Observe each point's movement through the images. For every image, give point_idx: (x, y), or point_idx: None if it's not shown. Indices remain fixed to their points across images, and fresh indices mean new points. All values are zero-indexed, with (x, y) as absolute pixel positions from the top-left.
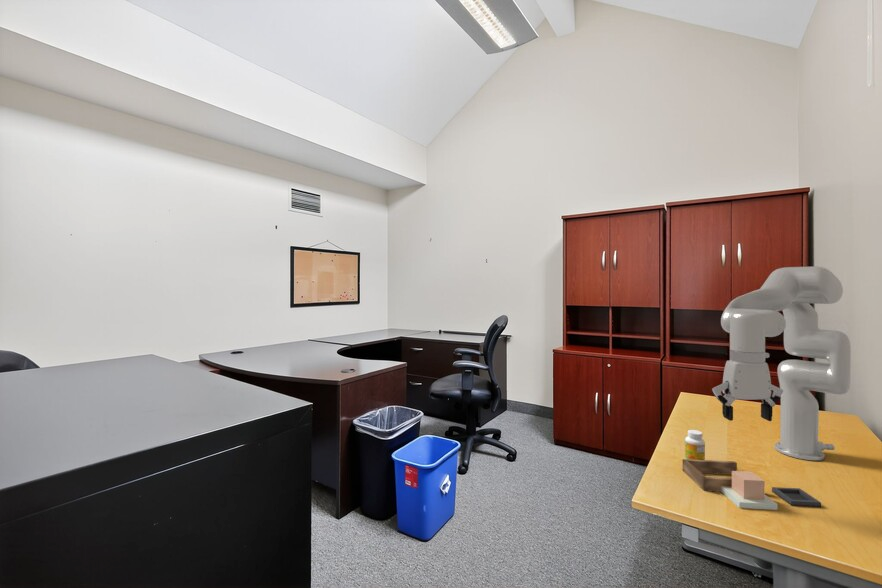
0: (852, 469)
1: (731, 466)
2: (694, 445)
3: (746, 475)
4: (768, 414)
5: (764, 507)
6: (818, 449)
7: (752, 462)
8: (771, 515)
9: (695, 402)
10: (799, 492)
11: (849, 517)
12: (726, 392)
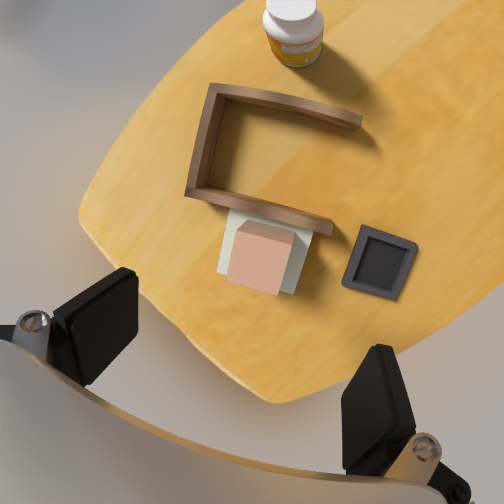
0: None
1: (343, 122)
2: (274, 39)
3: (255, 261)
4: (342, 427)
5: None
6: None
7: (444, 94)
8: (262, 300)
9: None
10: (407, 250)
11: (399, 328)
12: (5, 351)
